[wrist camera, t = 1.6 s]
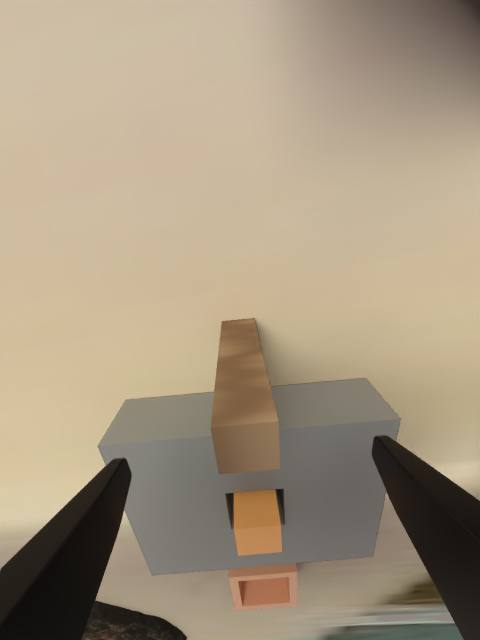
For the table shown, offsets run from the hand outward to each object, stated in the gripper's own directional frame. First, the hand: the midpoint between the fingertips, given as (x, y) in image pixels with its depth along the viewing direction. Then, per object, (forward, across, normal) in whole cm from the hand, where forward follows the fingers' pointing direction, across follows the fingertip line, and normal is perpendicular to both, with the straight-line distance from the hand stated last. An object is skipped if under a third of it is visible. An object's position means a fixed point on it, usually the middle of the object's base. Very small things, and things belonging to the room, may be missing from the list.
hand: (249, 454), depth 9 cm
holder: (+10, 0, +27) cm, 29 cm away
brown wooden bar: (+10, 0, 0) cm, 10 cm away
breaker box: (+10, 0, +13) cm, 17 cm away
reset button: (+8, 0, +13) cm, 15 cm away
